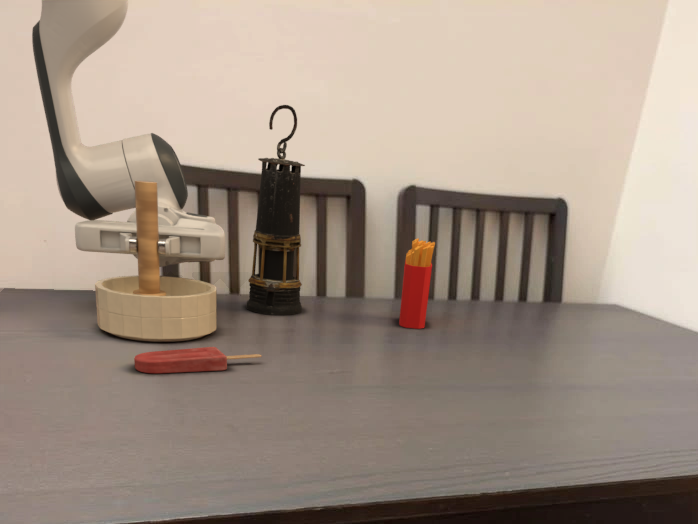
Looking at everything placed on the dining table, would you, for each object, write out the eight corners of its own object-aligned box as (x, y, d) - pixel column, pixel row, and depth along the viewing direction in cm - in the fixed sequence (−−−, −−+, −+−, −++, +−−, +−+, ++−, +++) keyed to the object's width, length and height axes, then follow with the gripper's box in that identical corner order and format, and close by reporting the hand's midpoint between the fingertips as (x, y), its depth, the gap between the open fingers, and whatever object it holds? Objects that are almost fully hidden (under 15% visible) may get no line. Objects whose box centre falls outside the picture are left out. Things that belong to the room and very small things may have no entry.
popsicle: (267, 353, 86) (138, 361, 80) (267, 367, 87) (139, 376, 81) (255, 343, 90) (130, 351, 83) (255, 357, 91) (131, 365, 84)
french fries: (398, 317, 121) (407, 235, 116) (424, 319, 121) (433, 238, 116) (398, 328, 113) (407, 241, 108) (426, 331, 113) (436, 244, 108)
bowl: (78, 323, 100) (74, 278, 98) (177, 313, 110) (177, 273, 108) (135, 349, 90) (133, 300, 88) (238, 336, 100) (239, 292, 98)
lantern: (268, 316, 113) (274, 101, 101) (234, 305, 119) (236, 100, 107) (312, 312, 119) (323, 108, 107) (278, 301, 125) (285, 106, 113)
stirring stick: (127, 311, 101) (121, 179, 94) (156, 309, 104) (152, 180, 97) (144, 318, 98) (138, 182, 91) (172, 315, 101) (170, 183, 94)
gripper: (81, 207, 105) (62, 215, 93) (225, 217, 109) (225, 227, 97) (84, 252, 108) (66, 266, 96) (225, 261, 112) (224, 275, 99)
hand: (147, 246), depth 96 cm, fingers closed on stirring stick, 3 cm apart
